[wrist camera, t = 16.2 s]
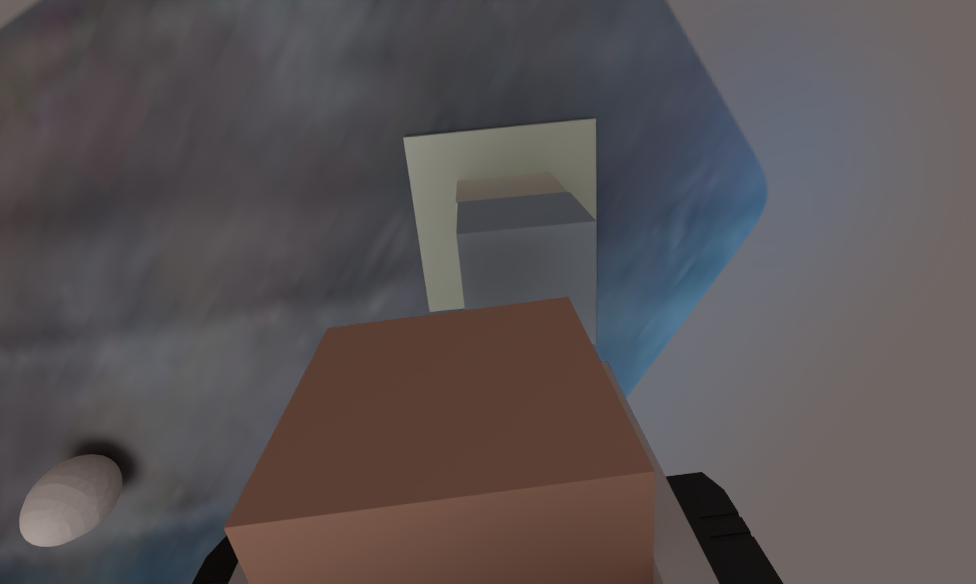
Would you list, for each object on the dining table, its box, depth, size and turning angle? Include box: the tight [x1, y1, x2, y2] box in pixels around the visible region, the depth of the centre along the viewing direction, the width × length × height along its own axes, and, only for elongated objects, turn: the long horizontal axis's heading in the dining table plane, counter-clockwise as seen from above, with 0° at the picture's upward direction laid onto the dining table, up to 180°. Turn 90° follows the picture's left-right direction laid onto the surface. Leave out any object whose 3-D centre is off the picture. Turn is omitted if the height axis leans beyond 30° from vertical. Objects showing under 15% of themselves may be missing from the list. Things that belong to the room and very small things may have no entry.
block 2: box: [456, 172, 567, 211], centre depth 31 cm, size 6×6×6 cm
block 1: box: [224, 297, 655, 584], centre depth 11 cm, size 6×6×6 cm
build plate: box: [403, 118, 596, 312], centre depth 34 cm, size 12×12×1 cm
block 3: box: [456, 192, 597, 345], centre depth 25 cm, size 6×6×6 cm
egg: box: [19, 454, 122, 547], centre depth 38 cm, size 5×5×7 cm
